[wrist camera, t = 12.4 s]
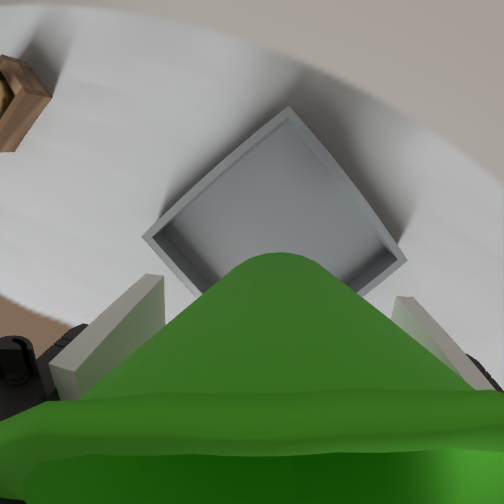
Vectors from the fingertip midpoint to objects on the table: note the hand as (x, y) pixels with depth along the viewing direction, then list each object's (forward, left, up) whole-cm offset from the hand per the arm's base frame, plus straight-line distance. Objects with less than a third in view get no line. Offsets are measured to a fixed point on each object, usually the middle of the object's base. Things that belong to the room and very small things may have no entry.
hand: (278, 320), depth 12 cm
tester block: (-28, -11, -14) cm, 33 cm away
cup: (0, 0, -1) cm, 1 cm away
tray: (0, 0, -14) cm, 14 cm away
